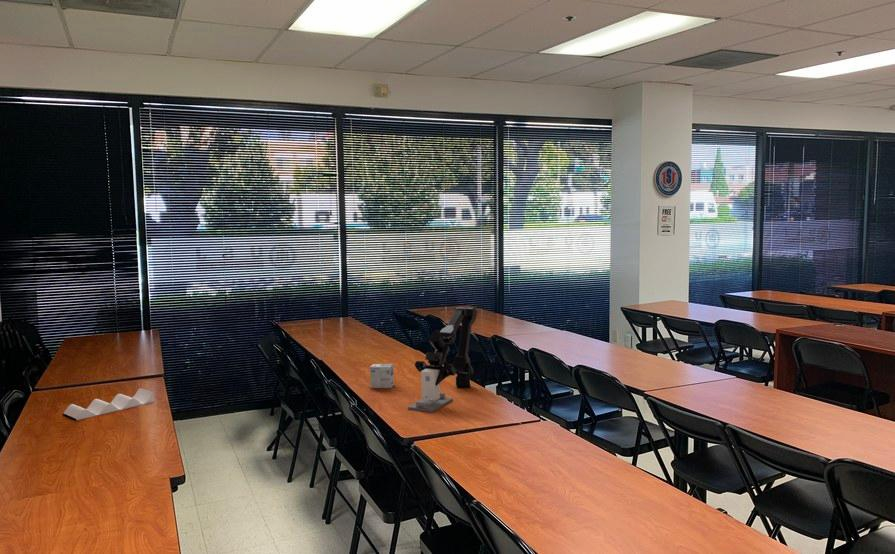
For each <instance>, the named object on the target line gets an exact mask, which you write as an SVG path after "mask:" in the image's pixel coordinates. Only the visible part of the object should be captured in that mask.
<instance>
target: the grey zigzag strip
mask: <svg viewBox="0 0 895 554" xmlns="http://www.w3.org/2000/svg"><path fill="white" fill-rule="evenodd" d="M154 402H155V395H154V392H153V391H150V390H148V389H144V388H141V387H139V388H138V389H137V390H136V393H135V394H134V395H133V396H132V397H131V396H127V395H125V394H123V393H117V394H116V395H115V397H114V398H113V399H112V400H111V402H107V401H105V400H102V399H99V398H95V399H93V400H92V401H91V403H90V404H89V405H88V406H87V408H83V407H82V406H79V405H76V404H73V403H70V404H69V405H68V406H67V408H66V409H65V410H64V411H63V413H62V415H61V416H63V417H65V418H67V419H70V420H72V421H75V422H76V421H80V420H83V419H84V420H85V419H88V418H92V417H96V416H101V415H104V414H108V413H113V412H114V413H115V412H117V411H121V410H127V409H129V408H134V407H138V406H143V405H146V404H151V403H154Z"/></svg>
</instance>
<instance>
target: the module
mask: <svg viewBox="0 0 895 554" xmlns="http://www.w3.org/2000/svg"><path fill="white" fill-rule="evenodd" d="M420 373H421V375H420V377H421V378H420V379H421V380H420V381H421V400H422V399H426V398H427V397H432V400H436V399H438V398H440V392H441V389H440V388H441V387H440V385H441V382H440V383H439V384H438V385H437V386H436V385H435V383H436V380H437V378H438V375H439V370H435V369H425V370H423V371H421V372H420Z"/></svg>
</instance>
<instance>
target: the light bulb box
mask: <svg viewBox="0 0 895 554" xmlns="http://www.w3.org/2000/svg"><path fill="white" fill-rule="evenodd" d="M369 370H370V373H369V377H370V389H392V387H393V386H394V384H395V381H394V378H395V377H394V364H393V363H380V364H379V363H373V364H372V365H371V366H369Z"/></svg>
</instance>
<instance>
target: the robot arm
mask: <svg viewBox="0 0 895 554" xmlns="http://www.w3.org/2000/svg"><path fill="white" fill-rule="evenodd" d="M477 316H478V310H477V309H476V307H472V306H471V307H469V306H467V307H466V306H462V307H461V306H460V307H459V306H457V307H456V308H455V309H454V313H453V315H452V316H451V318H450V320H449V321H448V323H447V325H446V326H445V327H443V328H441V330H438V329H437V330H436V329H435V330H434V332H432V333H431V334H429V335H428V341H429V343H430V344H431V346H432V347H433V349H435V350H434V352H428V351H427V352H426V353H425V358H424V359H425V360H427V362H428V364H426V362H425V361H423V360H416V361H415V363H414V367H415V368H416V370H417V371H418V372H419V373H421V371H423V370H425V369H435V370H439V375H438V378H437V380H436V383H435V385H436V386H437V385H438V384H439V383H440V384H441V383H442V381H443V380H445V379H446V378H448V377H450V376H452V377H453V376H454V377H455V386H456V387H457V388H459V389H462V388H463V389H464V388H471V376H472V375H474V368H473V366H472V365H471V358H470V357H469V348H470V341H471V340H470V338H471V333H472V325H473V324H474V323H475V322H476V320H477ZM460 325H461V328H460V336H459V342H458V343H459V345H458V349H457V350H458V353H457V354H456V355H455V356H453V360H452V363H446V362H447V359H446V358H447V355H448V353H449V352H451V348H450V346H449V345H452V344H454V343H455V341H456V337H457V334H456V333H457V330H458V329H459V327H460ZM448 344H449V345H448ZM455 375H456V376H455Z"/></svg>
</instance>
